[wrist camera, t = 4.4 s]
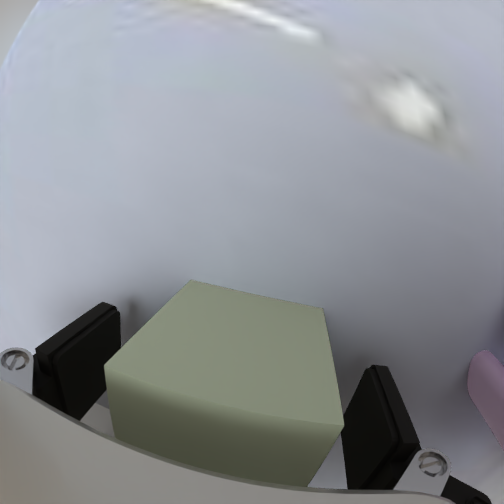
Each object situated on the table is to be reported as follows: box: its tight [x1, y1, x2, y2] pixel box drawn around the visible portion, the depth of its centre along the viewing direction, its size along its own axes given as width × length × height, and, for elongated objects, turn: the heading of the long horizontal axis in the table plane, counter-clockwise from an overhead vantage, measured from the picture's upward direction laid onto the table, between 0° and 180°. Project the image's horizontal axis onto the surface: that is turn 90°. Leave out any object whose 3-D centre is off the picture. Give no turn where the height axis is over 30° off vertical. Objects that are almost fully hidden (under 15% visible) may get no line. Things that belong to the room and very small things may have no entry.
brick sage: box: [104, 280, 344, 487], centre depth 9 cm, size 5×5×6 cm
